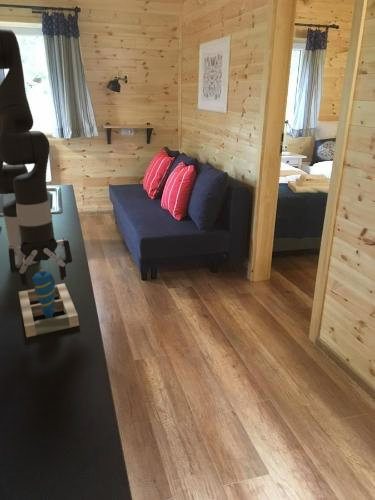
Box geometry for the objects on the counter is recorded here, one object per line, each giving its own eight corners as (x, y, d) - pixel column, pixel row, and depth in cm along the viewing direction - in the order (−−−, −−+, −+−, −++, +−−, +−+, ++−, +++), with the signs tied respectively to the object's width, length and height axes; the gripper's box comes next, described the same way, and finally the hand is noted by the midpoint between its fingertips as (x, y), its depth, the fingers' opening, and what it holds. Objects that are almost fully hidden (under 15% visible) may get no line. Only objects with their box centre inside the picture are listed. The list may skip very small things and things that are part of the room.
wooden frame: (20, 301, 118) (18, 291, 117) (65, 292, 123) (64, 283, 122) (26, 337, 101) (24, 326, 100) (79, 325, 106) (77, 315, 105)
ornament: (38, 327, 106) (29, 273, 100) (39, 317, 110) (31, 264, 105) (60, 324, 107) (52, 270, 101) (60, 314, 111) (52, 262, 106)
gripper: (63, 211, 104) (71, 271, 110) (1, 219, 99) (12, 281, 105) (68, 220, 98) (76, 282, 104) (2, 228, 93) (14, 294, 99)
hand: (44, 282), depth 105 cm, fingers open, 8 cm apart
